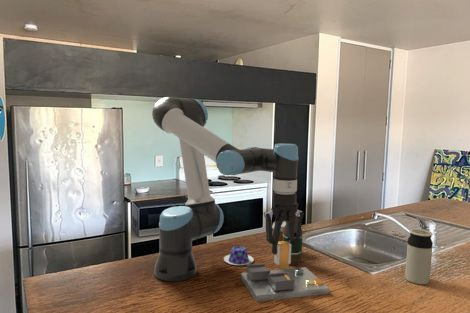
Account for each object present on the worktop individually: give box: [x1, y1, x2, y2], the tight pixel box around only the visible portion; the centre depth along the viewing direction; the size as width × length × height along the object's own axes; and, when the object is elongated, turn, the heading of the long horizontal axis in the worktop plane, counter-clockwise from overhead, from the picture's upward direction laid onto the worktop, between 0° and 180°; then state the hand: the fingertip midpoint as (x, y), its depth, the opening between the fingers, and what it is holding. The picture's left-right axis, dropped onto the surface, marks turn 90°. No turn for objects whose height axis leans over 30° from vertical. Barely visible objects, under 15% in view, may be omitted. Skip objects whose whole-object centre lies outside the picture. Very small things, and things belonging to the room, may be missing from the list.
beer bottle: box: [283, 202, 303, 266], centre depth 146 cm, size 8×8×24 cm
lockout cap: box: [275, 241, 290, 270], centre depth 120 cm, size 4×4×8 cm
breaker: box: [246, 263, 270, 281], centre depth 128 cm, size 6×6×3 cm
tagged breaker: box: [268, 272, 294, 291], centre depth 121 cm, size 6×6×3 cm
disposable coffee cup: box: [272, 221, 286, 242], centre depth 158 cm, size 10×10×12 cm
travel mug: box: [404, 228, 434, 285], centre depth 132 cm, size 8×8×18 cm
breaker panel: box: [240, 266, 330, 303], centre depth 126 cm, size 25×17×3 cm
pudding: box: [223, 245, 255, 266], centre depth 147 cm, size 12×12×5 cm
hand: (282, 262), depth 120 cm, fingers closed on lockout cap, 3 cm apart
